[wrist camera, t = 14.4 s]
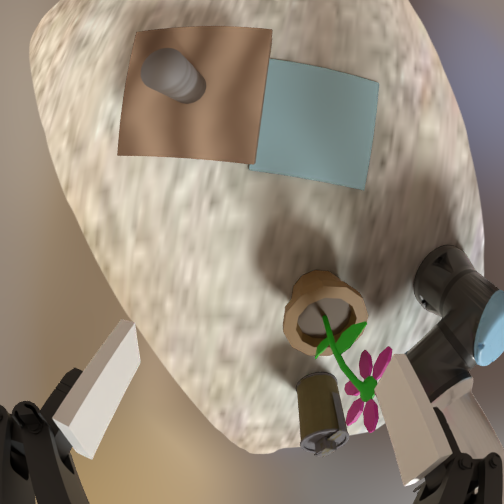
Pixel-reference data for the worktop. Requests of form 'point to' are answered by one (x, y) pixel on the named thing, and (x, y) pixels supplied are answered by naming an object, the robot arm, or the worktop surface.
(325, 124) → the mat
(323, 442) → the canister
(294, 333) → the flowerpot
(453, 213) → the worktop surface
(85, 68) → the worktop surface
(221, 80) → the lid
